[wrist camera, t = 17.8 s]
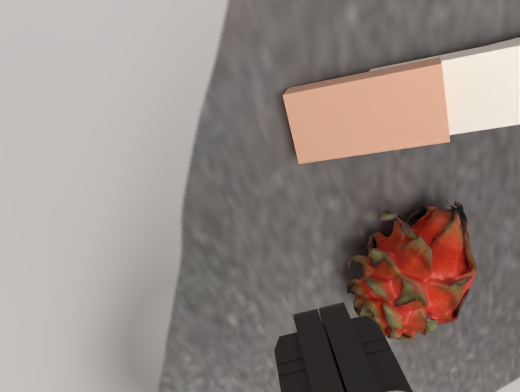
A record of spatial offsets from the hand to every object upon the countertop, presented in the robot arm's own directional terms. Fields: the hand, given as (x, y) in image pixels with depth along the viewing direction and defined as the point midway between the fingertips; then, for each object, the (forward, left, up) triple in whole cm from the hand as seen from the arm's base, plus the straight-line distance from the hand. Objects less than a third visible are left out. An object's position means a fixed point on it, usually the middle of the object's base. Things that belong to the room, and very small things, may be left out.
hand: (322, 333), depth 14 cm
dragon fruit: (-12, -9, -23) cm, 27 cm away
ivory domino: (0, -8, -22) cm, 24 cm away
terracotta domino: (0, -2, -22) cm, 22 cm away
